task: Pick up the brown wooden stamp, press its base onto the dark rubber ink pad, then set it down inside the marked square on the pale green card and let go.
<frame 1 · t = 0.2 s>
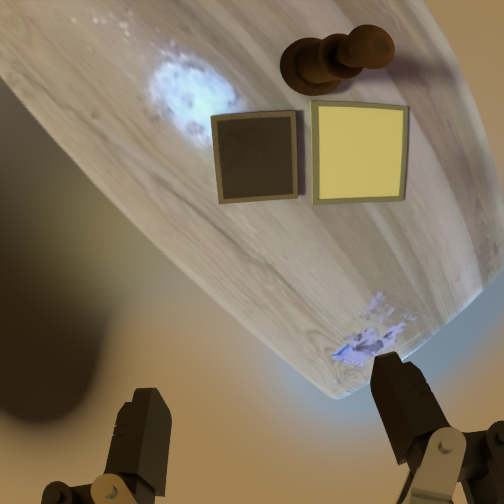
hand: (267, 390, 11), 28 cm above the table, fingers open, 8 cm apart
brown wooden stamp: (308, 68, 30), on the table
ink pad: (255, 156, 35), on the table
print card: (361, 152, 35), on the table
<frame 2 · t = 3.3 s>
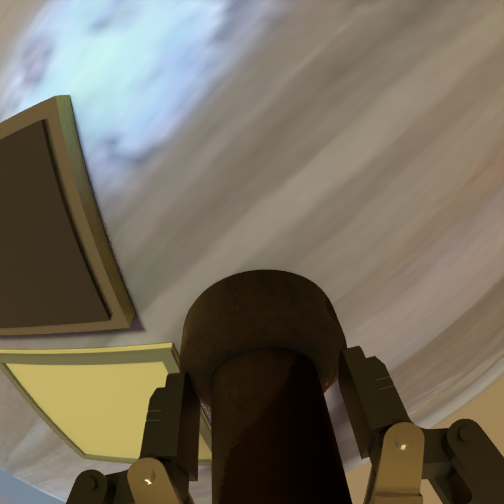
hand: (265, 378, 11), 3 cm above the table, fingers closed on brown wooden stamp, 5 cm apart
brown wooden stamp: (259, 329, 14), on the table, touching gripper
ink pad: (7, 237, 11), on the table
print card: (112, 417, 16), on the table
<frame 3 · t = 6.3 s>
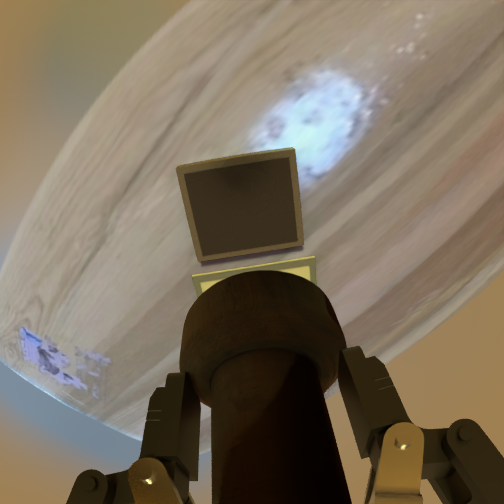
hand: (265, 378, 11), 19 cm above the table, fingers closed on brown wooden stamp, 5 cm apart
brown wooden stamp: (259, 330, 14), point 17 cm above the table, touching gripper
ink pad: (242, 204, 28), on the table
print card: (261, 313, 34), on the table
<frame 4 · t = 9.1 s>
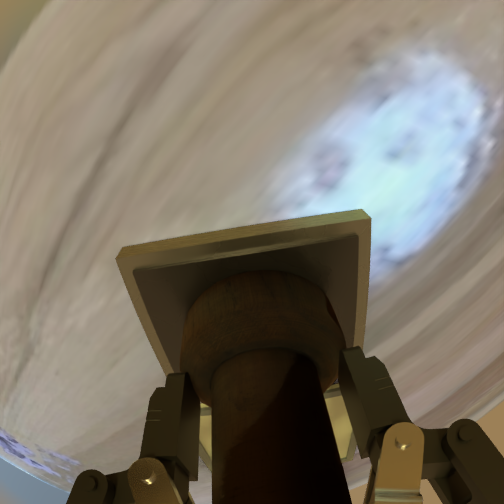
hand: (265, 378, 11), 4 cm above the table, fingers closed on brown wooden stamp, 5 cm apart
brown wooden stamp: (259, 329, 14), point 1 cm above the table, touching gripper, ink pad
ink pad: (256, 316, 15), on the table
print card: (278, 440, 20), on the table
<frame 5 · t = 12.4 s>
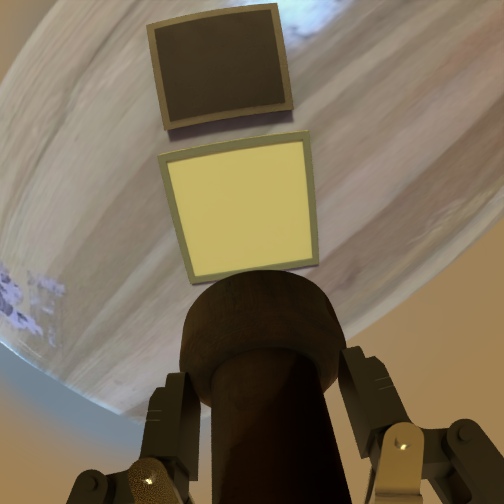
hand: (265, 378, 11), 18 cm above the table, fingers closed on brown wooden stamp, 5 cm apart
brown wooden stamp: (259, 329, 14), point 15 cm above the table, touching gripper
ink pad: (219, 63, 21), on the table
print card: (244, 210, 27), on the table
when the fingers open (4 cm above the table, at t = 15.3 s): brown wooden stamp stays where it is, resting on print card.
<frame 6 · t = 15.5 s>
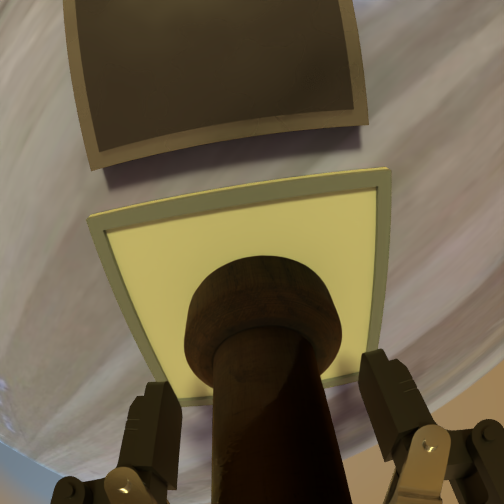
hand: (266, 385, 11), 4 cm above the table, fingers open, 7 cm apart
brown wooden stamp: (259, 314, 15), resting on print card
ink pad: (207, 21, 9), on the table
print card: (257, 313, 15), on the table
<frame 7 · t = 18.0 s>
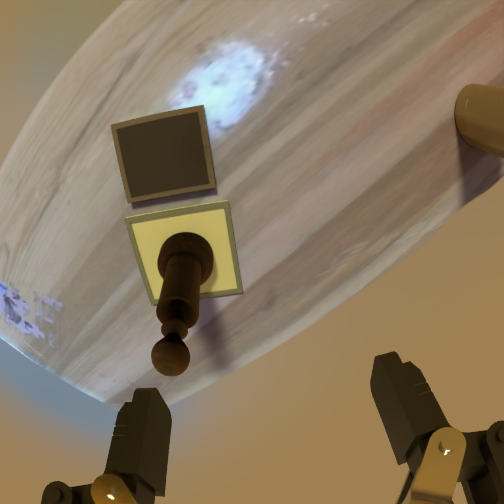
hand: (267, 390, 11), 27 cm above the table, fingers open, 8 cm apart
brown wooden stamp: (186, 255, 38), resting on print card
ink pad: (164, 153, 32), on the table
print card: (185, 255, 38), on the table
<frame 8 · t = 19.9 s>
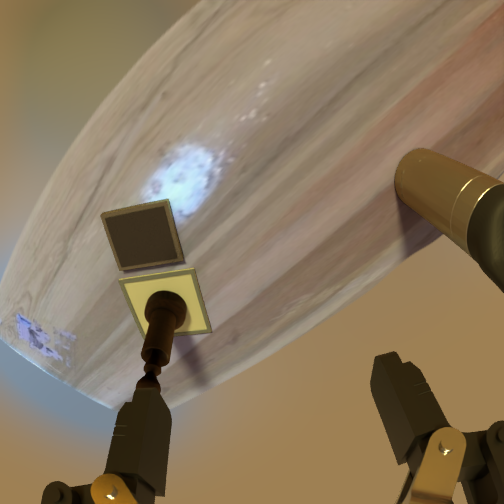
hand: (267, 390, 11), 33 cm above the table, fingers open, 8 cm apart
brown wooden stamp: (166, 306, 49), resting on print card
ink pad: (142, 235, 43), on the table
print card: (166, 305, 49), on the table
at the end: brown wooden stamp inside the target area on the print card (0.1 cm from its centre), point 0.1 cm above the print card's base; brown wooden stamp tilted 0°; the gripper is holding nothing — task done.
